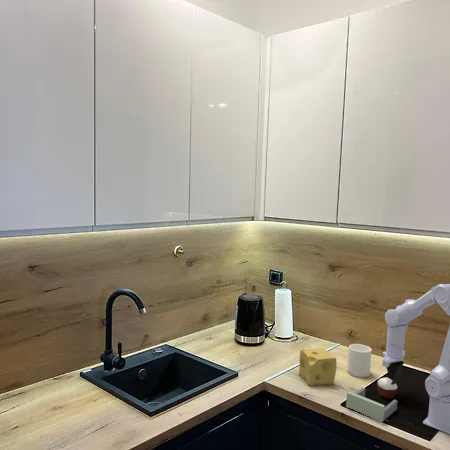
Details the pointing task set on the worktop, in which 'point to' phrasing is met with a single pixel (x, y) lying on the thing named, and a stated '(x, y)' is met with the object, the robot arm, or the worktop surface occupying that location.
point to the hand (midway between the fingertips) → (392, 380)
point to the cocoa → (388, 385)
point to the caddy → (369, 406)
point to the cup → (359, 360)
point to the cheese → (317, 366)
